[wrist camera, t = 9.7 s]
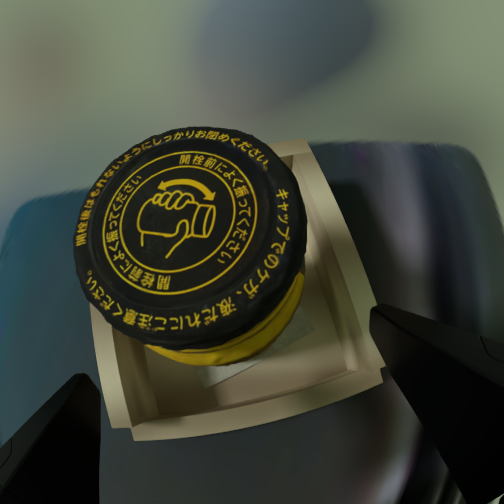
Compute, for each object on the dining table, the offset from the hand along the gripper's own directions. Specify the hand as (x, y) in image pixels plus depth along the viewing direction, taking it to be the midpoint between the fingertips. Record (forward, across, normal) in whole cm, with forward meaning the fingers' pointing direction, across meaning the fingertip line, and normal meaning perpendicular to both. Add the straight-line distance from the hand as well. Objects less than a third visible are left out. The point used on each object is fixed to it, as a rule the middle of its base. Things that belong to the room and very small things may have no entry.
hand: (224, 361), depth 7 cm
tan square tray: (+10, 0, +4) cm, 10 cm away
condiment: (+9, 0, +3) cm, 10 cm away
